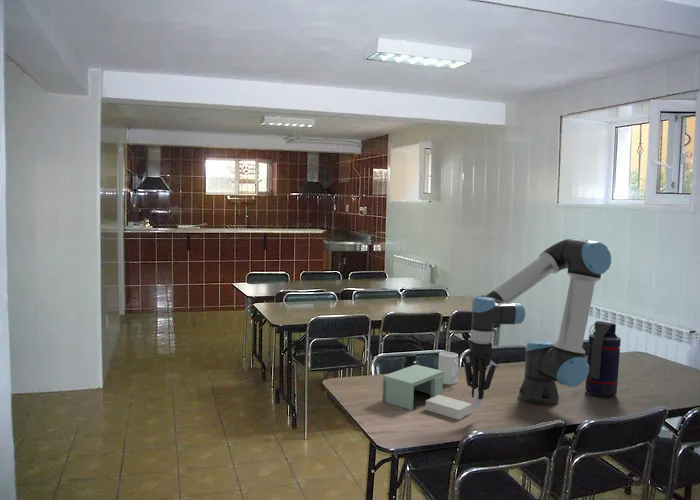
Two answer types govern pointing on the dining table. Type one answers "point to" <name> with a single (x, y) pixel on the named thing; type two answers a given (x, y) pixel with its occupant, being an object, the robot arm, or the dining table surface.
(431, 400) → the lid
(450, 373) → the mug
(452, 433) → the dining table surface
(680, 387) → the dining table surface
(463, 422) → the dining table surface
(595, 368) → the grenade
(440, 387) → the shelf
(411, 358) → the supplement bottle
